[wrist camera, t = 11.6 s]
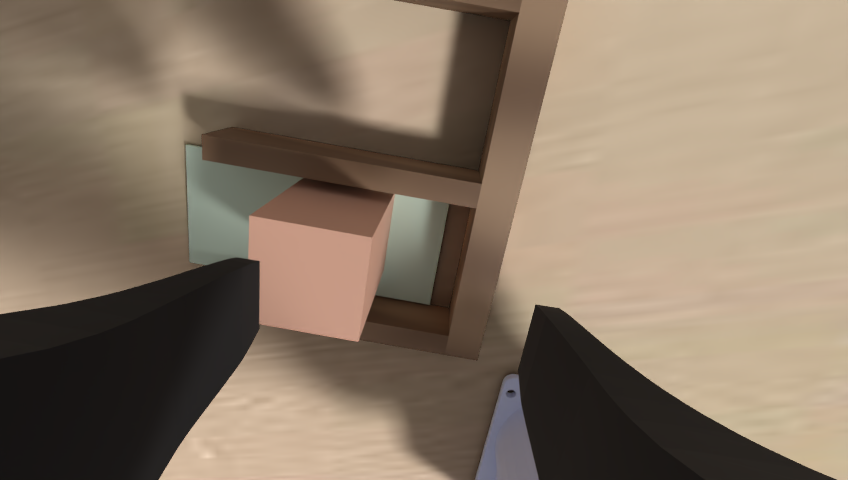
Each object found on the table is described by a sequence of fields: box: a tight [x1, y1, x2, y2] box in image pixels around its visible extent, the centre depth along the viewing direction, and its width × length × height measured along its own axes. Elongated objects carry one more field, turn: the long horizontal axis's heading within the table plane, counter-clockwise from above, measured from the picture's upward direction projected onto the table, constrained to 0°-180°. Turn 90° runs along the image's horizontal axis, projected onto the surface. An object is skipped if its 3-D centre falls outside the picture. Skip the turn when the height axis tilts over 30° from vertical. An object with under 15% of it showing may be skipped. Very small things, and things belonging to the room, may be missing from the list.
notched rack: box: [186, 0, 568, 360], centre depth 17 cm, size 22×14×2 cm, turn 171°
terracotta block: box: [248, 178, 395, 342], centre depth 18 cm, size 4×4×6 cm
